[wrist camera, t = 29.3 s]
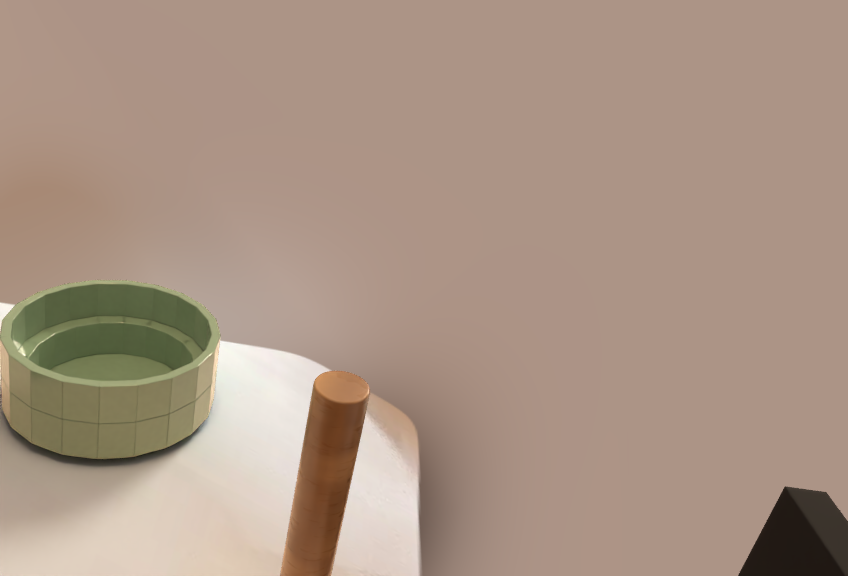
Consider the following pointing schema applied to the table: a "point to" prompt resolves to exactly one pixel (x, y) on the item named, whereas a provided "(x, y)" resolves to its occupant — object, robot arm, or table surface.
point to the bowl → (108, 368)
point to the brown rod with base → (325, 473)
